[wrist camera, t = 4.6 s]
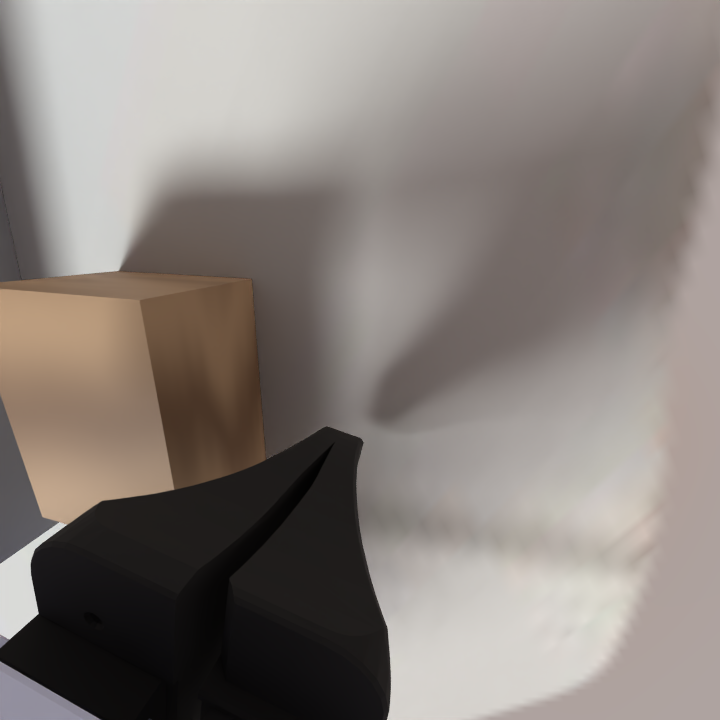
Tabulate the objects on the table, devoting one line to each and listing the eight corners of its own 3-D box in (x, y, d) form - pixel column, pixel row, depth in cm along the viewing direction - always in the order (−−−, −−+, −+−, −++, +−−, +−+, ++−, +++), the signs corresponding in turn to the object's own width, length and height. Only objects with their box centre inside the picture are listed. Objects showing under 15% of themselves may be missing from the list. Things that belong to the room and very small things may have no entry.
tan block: (268, 464, 15) (187, 559, 11) (155, 442, 17) (42, 516, 12) (254, 278, 13) (139, 300, 8) (122, 270, 14) (-38, 285, 10)
